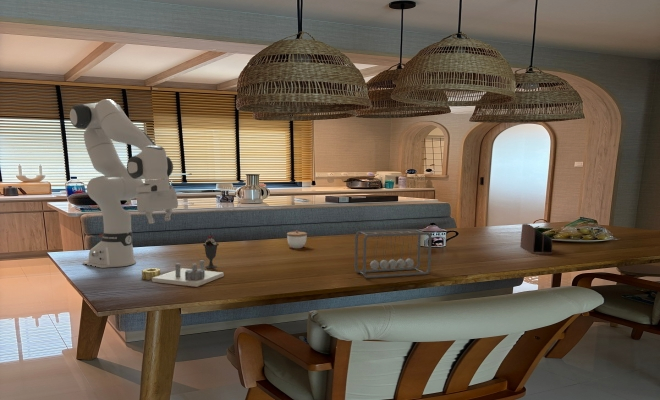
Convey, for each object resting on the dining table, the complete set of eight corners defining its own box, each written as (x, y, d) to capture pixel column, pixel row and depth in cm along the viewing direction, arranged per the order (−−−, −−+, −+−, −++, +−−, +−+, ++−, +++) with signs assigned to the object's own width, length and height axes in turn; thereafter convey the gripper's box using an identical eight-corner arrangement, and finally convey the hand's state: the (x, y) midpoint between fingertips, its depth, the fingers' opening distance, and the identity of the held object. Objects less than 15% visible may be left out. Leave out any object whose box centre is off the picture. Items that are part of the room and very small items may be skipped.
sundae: (212, 264, 215) (212, 231, 214) (222, 267, 211) (221, 232, 209) (199, 267, 210) (199, 232, 209) (209, 269, 205) (209, 234, 204)
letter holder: (532, 254, 249) (533, 227, 248) (520, 247, 269) (521, 222, 268) (552, 254, 249) (553, 227, 248) (538, 248, 268) (539, 222, 267)
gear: (139, 279, 187) (139, 272, 186) (145, 275, 194) (145, 268, 193) (157, 279, 187) (157, 272, 187) (163, 275, 194) (162, 268, 194)
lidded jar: (283, 248, 258) (283, 230, 257) (291, 245, 268) (291, 228, 268) (302, 249, 255) (302, 231, 254) (309, 246, 265) (309, 229, 264)
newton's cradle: (363, 279, 192) (364, 234, 191) (354, 273, 202) (354, 230, 201) (431, 274, 201) (432, 231, 200) (418, 269, 211) (420, 228, 210)
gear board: (152, 281, 184) (151, 263, 184) (181, 271, 201) (181, 255, 200) (196, 286, 177) (196, 267, 177) (223, 276, 194) (223, 258, 194)
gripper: (167, 185, 201) (170, 219, 202) (132, 188, 182) (135, 225, 183) (180, 185, 199) (182, 219, 200) (146, 187, 180) (149, 225, 180)
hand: (159, 222), depth 191 cm, fingers open, 8 cm apart
